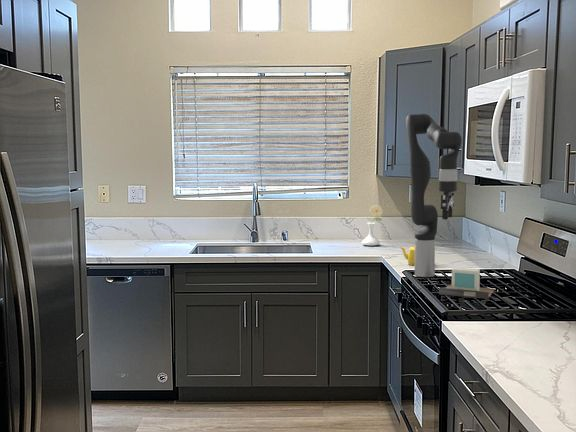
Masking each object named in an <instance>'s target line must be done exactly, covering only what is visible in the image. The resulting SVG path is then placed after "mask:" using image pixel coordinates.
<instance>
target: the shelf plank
mask: <svg viewBox="0 0 576 432" xmlns="http://www.w3.org/2000/svg"><path fill="white" fill-rule="evenodd" d="M495 290H496V288H491V287H490V288H489V287H479V291H473V290H462V289H452V284H448V285H447V286H445V287H438V295H444V296H452V297H464V298H465V297H466V298H476V299H484V300H485V299H486V300H487V299H488V300H489V299H490V297H491V296H492V294H493V292H494V291H495Z"/></svg>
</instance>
